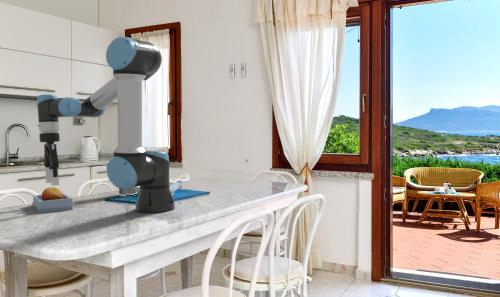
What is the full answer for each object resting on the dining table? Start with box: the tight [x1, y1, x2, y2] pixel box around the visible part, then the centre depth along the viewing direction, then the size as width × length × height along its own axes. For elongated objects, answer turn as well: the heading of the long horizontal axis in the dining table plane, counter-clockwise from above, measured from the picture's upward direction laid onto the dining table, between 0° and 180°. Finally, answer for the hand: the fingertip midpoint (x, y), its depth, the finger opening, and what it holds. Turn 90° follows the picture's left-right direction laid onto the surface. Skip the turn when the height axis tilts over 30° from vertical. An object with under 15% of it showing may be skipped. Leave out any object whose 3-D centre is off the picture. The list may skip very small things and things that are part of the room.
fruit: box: [41, 186, 63, 201], centre depth 183 cm, size 8×8×8 cm
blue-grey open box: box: [32, 192, 74, 214], centre depth 184 cm, size 12×22×4 cm, turn 33°
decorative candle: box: [118, 187, 138, 197], centre depth 213 cm, size 9×9×25 cm
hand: (52, 184), depth 182 cm, fingers open, 13 cm apart
